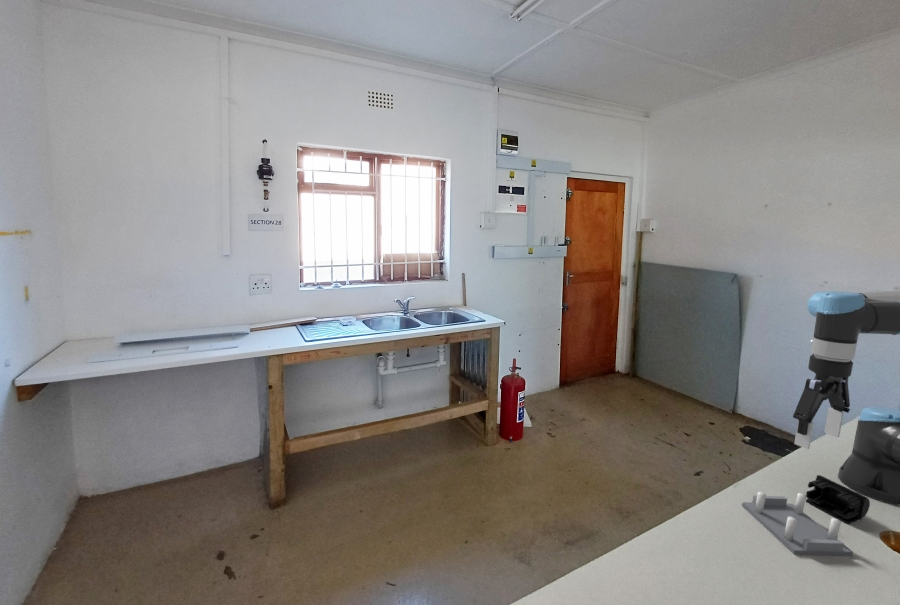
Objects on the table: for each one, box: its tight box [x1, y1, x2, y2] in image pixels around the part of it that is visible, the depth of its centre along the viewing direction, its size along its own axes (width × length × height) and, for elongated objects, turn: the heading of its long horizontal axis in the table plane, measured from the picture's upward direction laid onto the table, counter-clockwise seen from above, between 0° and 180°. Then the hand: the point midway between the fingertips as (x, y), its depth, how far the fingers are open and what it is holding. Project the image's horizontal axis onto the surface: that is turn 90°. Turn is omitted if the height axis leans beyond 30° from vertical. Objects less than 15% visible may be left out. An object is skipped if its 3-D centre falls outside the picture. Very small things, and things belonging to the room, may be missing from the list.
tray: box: [741, 491, 854, 557], centre depth 97 cm, size 13×16×6 cm
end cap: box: [805, 474, 871, 525], centre depth 104 cm, size 10×7×7 cm
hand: (817, 440), depth 100 cm, fingers open, 13 cm apart
